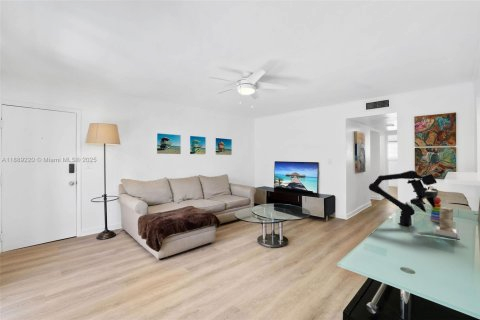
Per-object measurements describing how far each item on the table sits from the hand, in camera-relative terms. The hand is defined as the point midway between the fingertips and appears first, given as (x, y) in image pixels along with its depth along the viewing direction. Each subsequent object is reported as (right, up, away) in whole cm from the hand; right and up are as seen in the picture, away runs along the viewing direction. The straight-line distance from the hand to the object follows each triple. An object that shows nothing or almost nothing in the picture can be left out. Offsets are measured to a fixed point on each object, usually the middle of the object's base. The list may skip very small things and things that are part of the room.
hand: (429, 209), depth 147 cm
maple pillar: (-1, -9, -13) cm, 16 cm away
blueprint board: (+3, -13, -8) cm, 16 cm away
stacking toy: (+18, -13, +15) cm, 27 cm away
